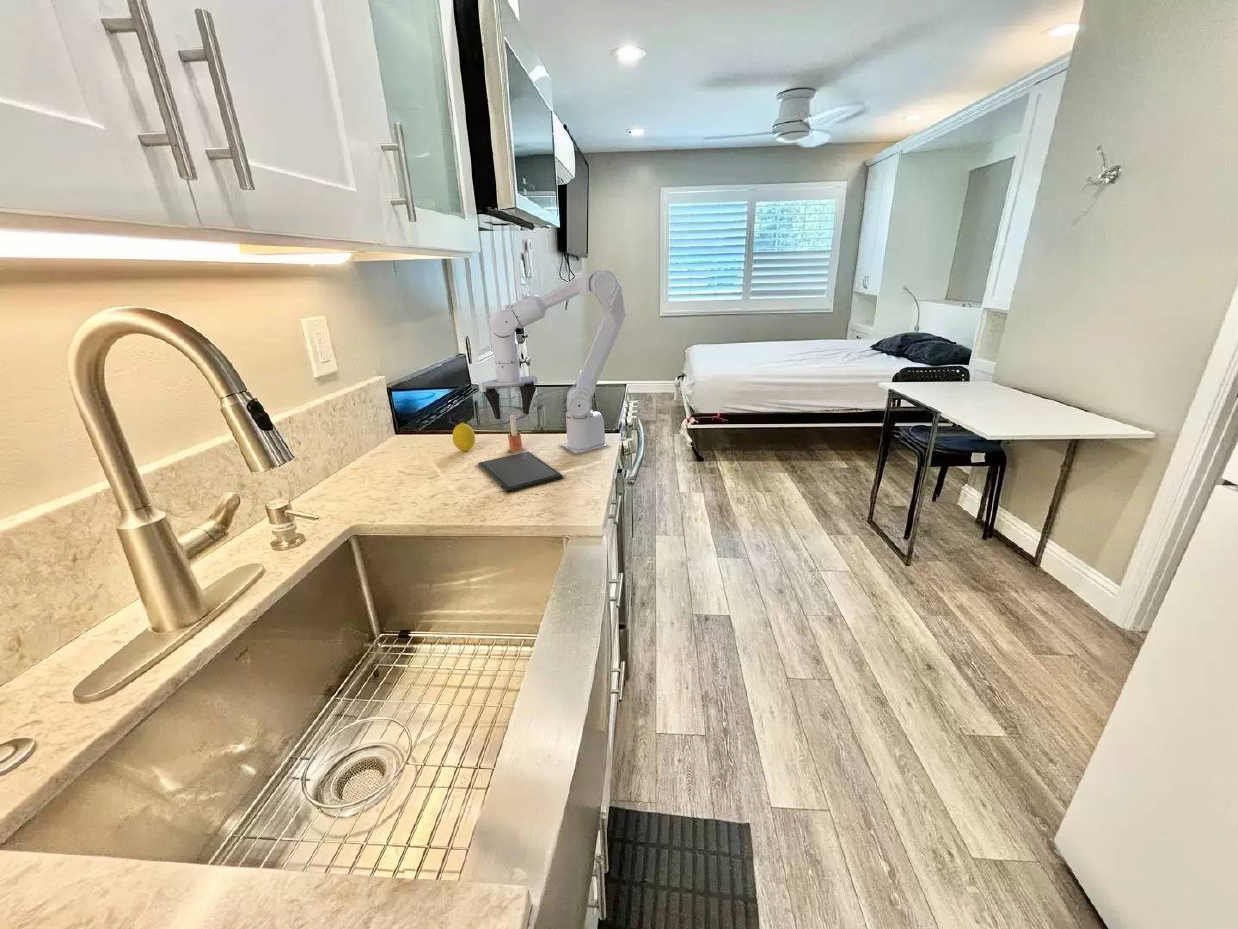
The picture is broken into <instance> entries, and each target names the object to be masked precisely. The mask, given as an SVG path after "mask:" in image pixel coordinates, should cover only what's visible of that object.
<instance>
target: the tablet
mask: <svg viewBox="0 0 1238 929" xmlns="http://www.w3.org/2000/svg"><path fill="white" fill-rule="evenodd" d="M477 464H478V466H479V467H480V468H482V469H483V470H484V471H485V472H486V473H487V474H488V475H489V476H490V477H491V478H493V480H495V481H496V482H497V483H498V485H500V488H502V490H503V491H504V492H506V493H507V494H510V493H513V492H517V491H521V490H525V489H528V488H533V487H536V486H540V485H543V484H547V483H551V482H555V481H558V480H562V479H563V474H561V473H560V472H558V471H557V469H554V468H553V467H552V466H550V465H548V464H547V463H546V462H544V461H543V460H542V459H540V458H538V456H535V455H534V454H533V453H531V452H530V451H524V452H519V453H515V454H512V455H511V454H510V455H506V456H502V457H497V458H493V459H488V460H485V461H479V462H478V463H477Z"/></svg>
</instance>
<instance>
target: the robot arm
mask: <svg viewBox="0 0 1238 929" xmlns="http://www.w3.org/2000/svg"><path fill="white" fill-rule="evenodd" d="M590 292H591V293H592V294H593V296H594V297H595V298H596V299H597V300H598V303H599V305H600V307H601V309H602V313H603V318H602V319H601V323H600V324H599V327H598V330H597V332H596V335H595V337H594V340H593V342H592V344H591V346H590V349H589V351H588V353H587V356H586V358H585V361H584V364H583V366H582V368H581V371H580V372H579V375H578V376H577V378H576V381H575V382H574V384H573V385H572V386H571V387H569V389H568V390H567V392H566V404H565V406H566V412H565V424H566V425H565V426H566V440H567V441H566V442H564V443H561V446H562V447H564V448H565V449H567V450H569V451H570V452H572V453H574V454H579V453H582V452H587V451H590V450H595V449H599V448H603V447H607V444H606V433H605V420H604V417H603V415H602V413H600V411H594V410H593V409H592V408H593V397H594V394H595V392H596V387H597V383H598V381H599V379H600V377H601V374H602V372H603V370H604V367H605V365H606V363H607V360H608V358H609V356H610V354H611V351H612V349H613V346H614V344H615V341H616V340H617V337H618V335H619V333H620V330H621V327H622V326H623V324H624V320H625V318H626V308H625V301H624V296H623V287H622V284H621V283H620V281H619V279H618V277H617V276H616V274H615V273H614V272H612V271H611V270H608V269H598V270H596V271H594V272H593V273H587V274H584V275H581V276H578V277H575V278H573V279H571V280H569V281H568V282H565V283H564V284H562V285H560V286H559V287H556V288H555V289H552V290H551V291H549V292H547V293H545V294H543V295H541V296H540V295H538V294H535V293H532V294H528V293H526V294H524V295H522V299H520V300H518V301H516V302H514V303H512V304H509V303H507V304H505V305H504V309H500V310H497V311H496V312H494V313H493V314H492V315H491V317H490V319H489V328H490V330H491V331H492V339H493V340H492V341H493V343H492V347H493V355H494V364H495V366H494V367H495V375H496V379H492V380H487V381H483V382H478V389H479V392H481V393H483V395H484V396H485V398H486V400H487V402H488V403H489V405H490V407H491V409H492V412H493V416H494V419H496V420H501V410H500V409H501V408H500V393H498V391H497V390H503V389H510V388H517V387H519V391H520V396H521V404H522V406H521V407H522V413H523V414H525V415H530V409H531V405H532V404H531V403H532V400H533V398H534V395H535V393H536V391H537V387H536V385H539V380H538V376H536V375H525V376H521V370H520V369H521V368H520V356H519V343H518V341H517V332H516V330H517V329H523V328H525V327H527V326H529V325H531V324H533V323H535V322H537V321H539V320H541V319H543V318H545V317H546V314H547V311H548V309H550V308H553V307H555V306H557V305H559V304H561V303H563V302H565V301H567V300H570V299H572V298H574V297H577V296H582V297H583V296H584V297H590V296H591V293H590Z"/></svg>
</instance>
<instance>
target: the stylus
mask: <svg viewBox="0 0 1238 929" xmlns="http://www.w3.org/2000/svg"><path fill="white" fill-rule="evenodd" d="M509 423H510V424H509V425H510V431H511V432H510V433H512V436H517V433H518V429H517V420H516V415H515V414H511V415H509Z"/></svg>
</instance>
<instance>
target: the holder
mask: <svg viewBox="0 0 1238 929" xmlns="http://www.w3.org/2000/svg"><path fill="white" fill-rule="evenodd" d="M507 440H508V448H509V451H510V452H520V451H522V450H523V442H522V441H523V440H522V433H521V432H517V436H512V433H511V432H510V433H508V434H507Z"/></svg>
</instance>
